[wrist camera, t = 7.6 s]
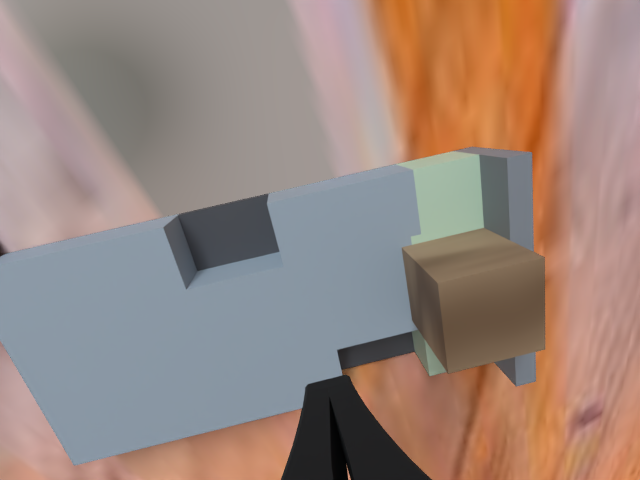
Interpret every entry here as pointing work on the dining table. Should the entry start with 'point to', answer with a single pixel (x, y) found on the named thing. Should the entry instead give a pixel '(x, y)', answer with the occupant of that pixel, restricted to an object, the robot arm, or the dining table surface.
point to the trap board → (242, 299)
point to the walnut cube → (476, 298)
